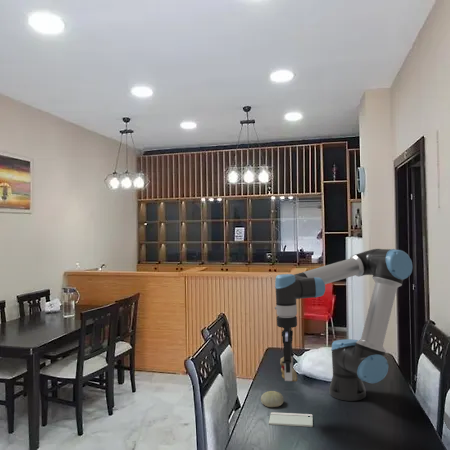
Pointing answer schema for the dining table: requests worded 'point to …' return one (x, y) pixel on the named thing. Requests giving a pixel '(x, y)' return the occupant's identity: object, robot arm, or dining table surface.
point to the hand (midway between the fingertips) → (289, 376)
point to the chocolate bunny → (294, 374)
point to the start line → (291, 414)
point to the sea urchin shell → (272, 399)
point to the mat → (291, 420)
